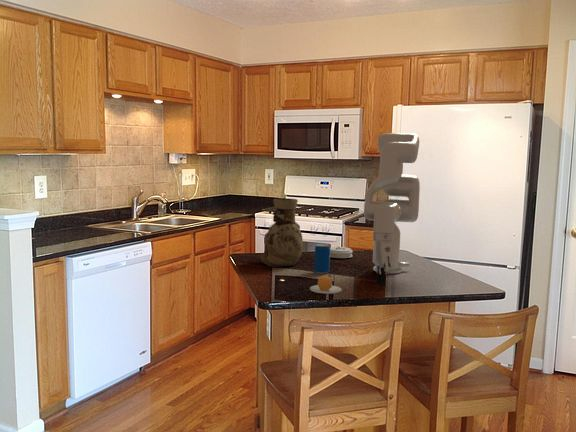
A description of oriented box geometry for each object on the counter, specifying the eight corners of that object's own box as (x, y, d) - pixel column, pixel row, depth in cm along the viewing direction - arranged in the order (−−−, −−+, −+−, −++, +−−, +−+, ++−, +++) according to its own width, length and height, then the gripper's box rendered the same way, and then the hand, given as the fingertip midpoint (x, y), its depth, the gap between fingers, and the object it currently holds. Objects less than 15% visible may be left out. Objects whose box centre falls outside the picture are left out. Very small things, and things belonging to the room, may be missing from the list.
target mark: (336, 284, 200) (336, 284, 200) (345, 293, 189) (345, 292, 189) (306, 285, 198) (306, 285, 198) (314, 294, 186) (314, 293, 186)
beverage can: (328, 274, 217) (329, 246, 216) (313, 273, 218) (314, 245, 217) (330, 271, 223) (331, 244, 222) (315, 270, 225) (316, 243, 223)
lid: (339, 253, 264) (339, 244, 264) (357, 258, 255) (358, 248, 254) (321, 256, 256) (321, 246, 256) (340, 261, 247) (340, 250, 246)
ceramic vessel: (255, 268, 226) (256, 200, 222) (264, 258, 246) (266, 196, 243) (298, 270, 223) (300, 202, 219) (304, 261, 244) (306, 197, 240)
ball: (318, 272, 193) (313, 286, 193) (323, 276, 188) (318, 290, 188) (330, 276, 195) (325, 290, 195) (336, 280, 190) (331, 294, 190)
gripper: (400, 240, 189) (398, 288, 191) (384, 233, 203) (382, 278, 206) (381, 240, 187) (379, 289, 190) (366, 233, 202) (364, 279, 204)
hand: (380, 283), depth 198 cm, fingers closed
